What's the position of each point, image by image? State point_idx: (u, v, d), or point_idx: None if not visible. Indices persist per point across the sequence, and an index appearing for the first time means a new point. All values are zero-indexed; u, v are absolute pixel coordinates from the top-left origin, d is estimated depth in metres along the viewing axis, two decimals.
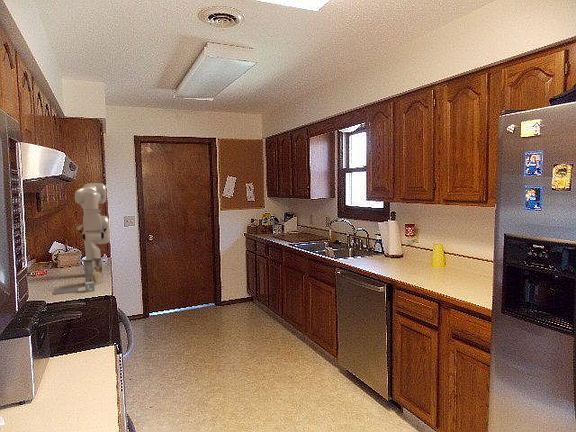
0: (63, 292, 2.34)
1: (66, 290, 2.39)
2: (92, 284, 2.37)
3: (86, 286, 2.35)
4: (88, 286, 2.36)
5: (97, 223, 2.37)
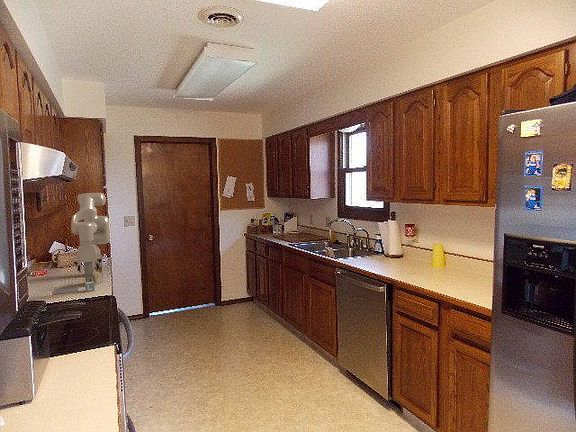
0: (63, 292, 2.34)
1: (66, 290, 2.39)
2: (92, 284, 2.37)
3: (86, 286, 2.35)
4: (88, 286, 2.36)
5: (92, 254, 2.36)
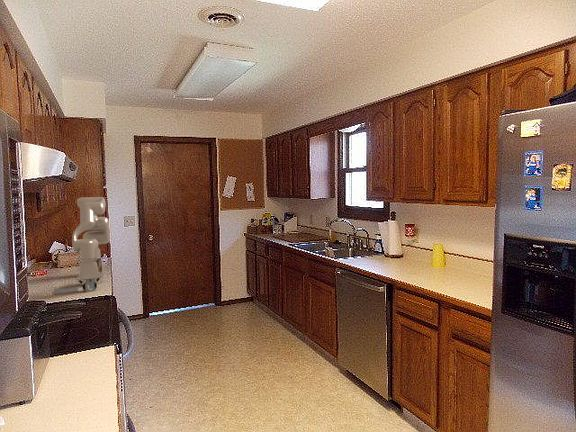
0: (63, 292, 2.34)
1: (66, 290, 2.39)
2: (92, 284, 2.37)
3: (86, 286, 2.35)
4: (88, 286, 2.36)
5: (93, 272, 2.37)
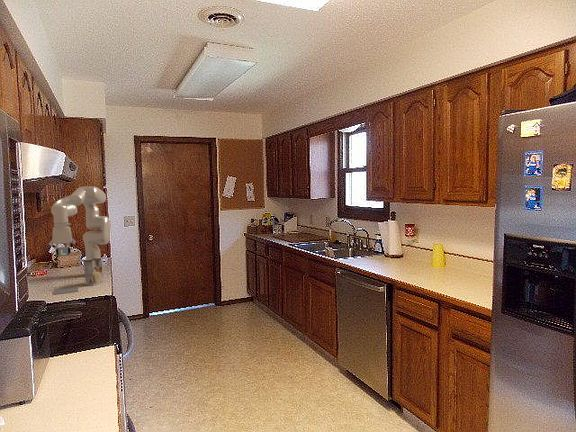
0: (63, 292, 2.34)
1: (66, 290, 2.39)
2: (65, 249, 2.35)
3: (59, 250, 2.34)
4: (61, 250, 2.34)
5: (67, 236, 2.36)
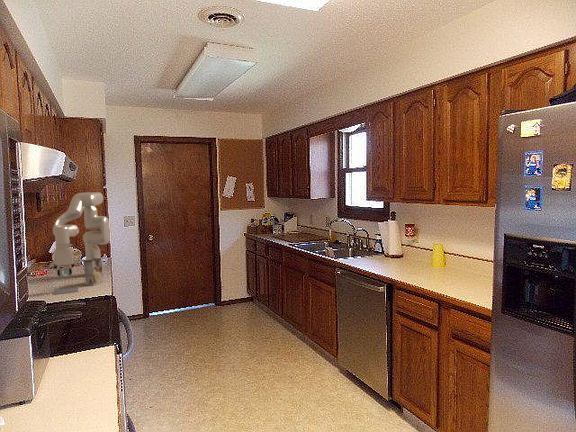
0: (63, 292, 2.34)
1: (66, 290, 2.39)
2: (67, 270, 2.36)
3: (61, 271, 2.35)
4: (63, 272, 2.35)
5: (68, 257, 2.37)
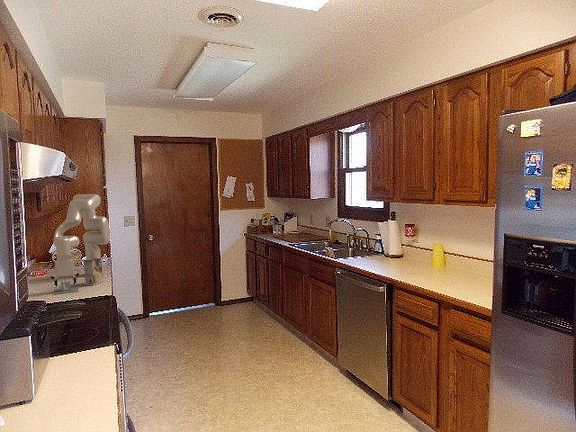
0: (63, 292, 2.34)
1: None
2: (68, 283, 2.38)
3: (62, 285, 2.36)
4: (64, 285, 2.36)
5: (69, 269, 2.37)
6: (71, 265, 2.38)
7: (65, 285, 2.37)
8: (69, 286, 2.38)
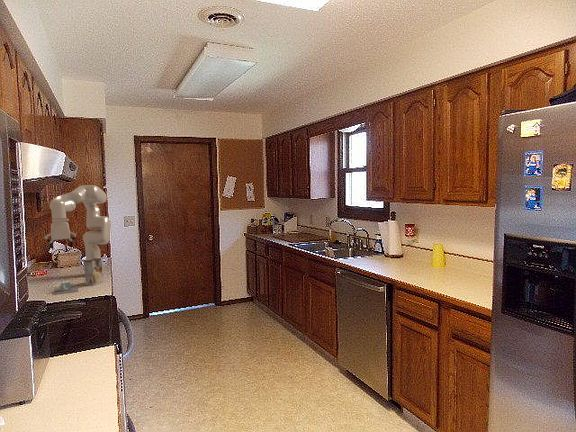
0: (63, 292, 2.34)
1: None
2: (68, 283, 2.38)
3: (62, 285, 2.36)
4: (64, 285, 2.36)
5: (65, 232, 2.37)
6: (67, 228, 2.37)
7: (65, 285, 2.37)
8: (69, 286, 2.38)
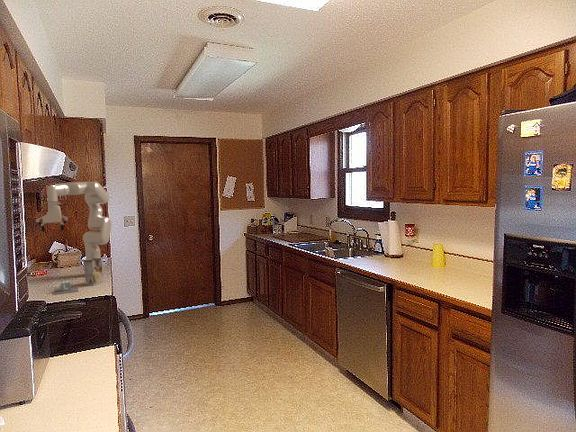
0: (63, 292, 2.34)
1: None
2: (68, 283, 2.38)
3: (62, 285, 2.36)
4: (64, 285, 2.36)
5: (56, 215, 2.39)
6: (58, 212, 2.40)
7: (65, 285, 2.37)
8: (69, 286, 2.38)
